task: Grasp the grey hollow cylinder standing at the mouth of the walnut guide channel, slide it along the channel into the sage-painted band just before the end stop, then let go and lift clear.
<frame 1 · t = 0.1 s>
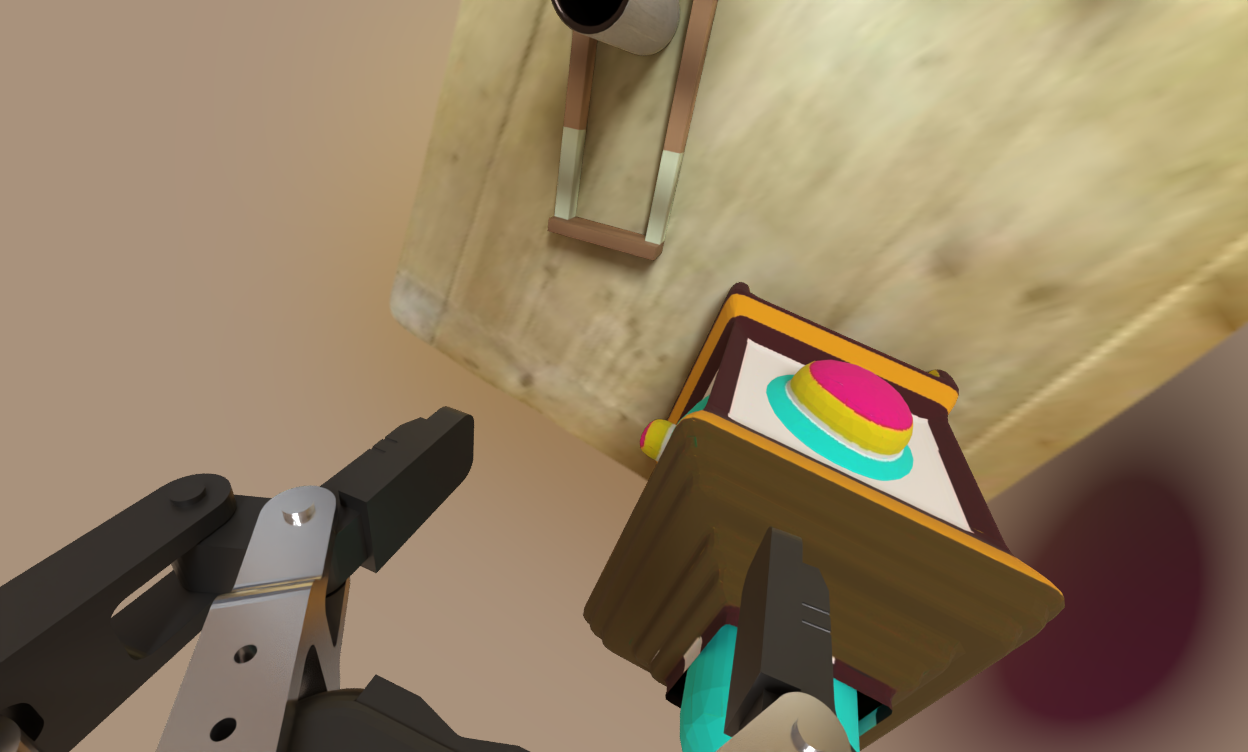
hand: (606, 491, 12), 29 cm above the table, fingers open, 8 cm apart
decorative lantern: (786, 405, 42), on the table
guide channel: (630, 116, 35), on the table
grey hollow cylinder: (647, 15, 32), on the table
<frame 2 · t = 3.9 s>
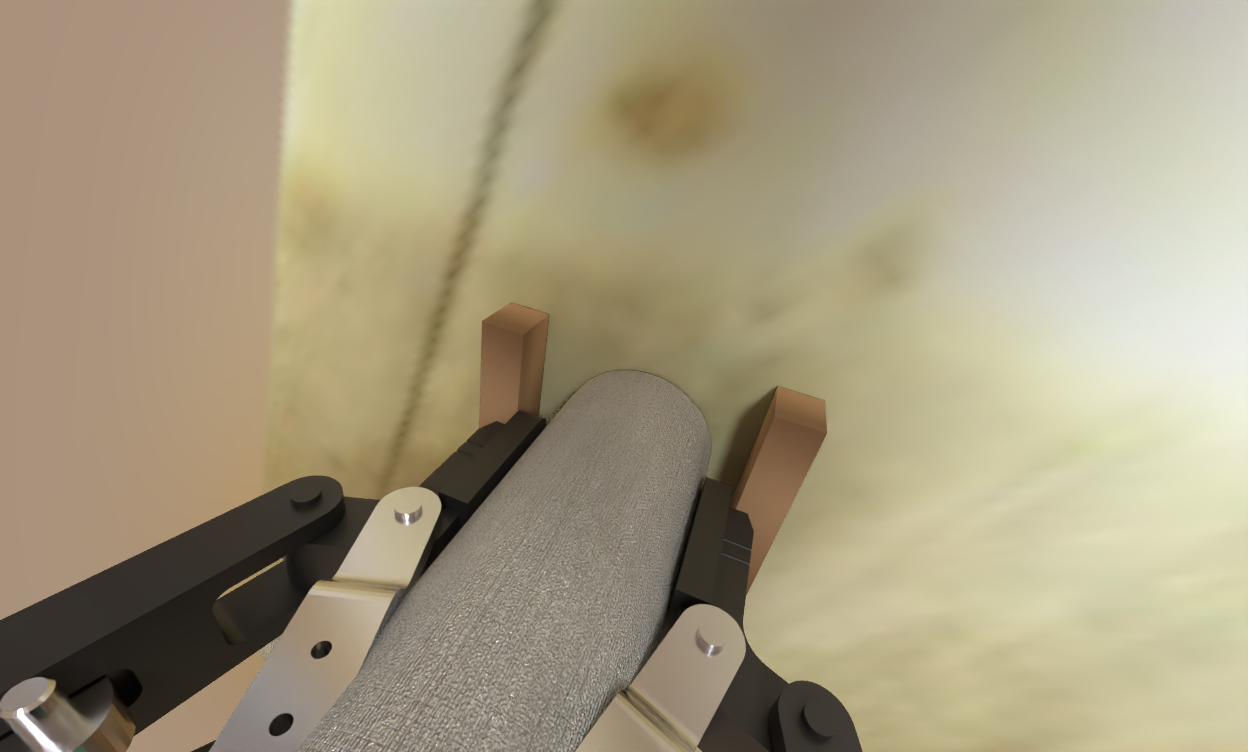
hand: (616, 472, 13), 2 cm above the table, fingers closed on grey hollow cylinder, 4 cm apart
guide channel: (606, 562, 18), on the table
grey hollow cylinder: (639, 431, 15), on the table, touching gripper
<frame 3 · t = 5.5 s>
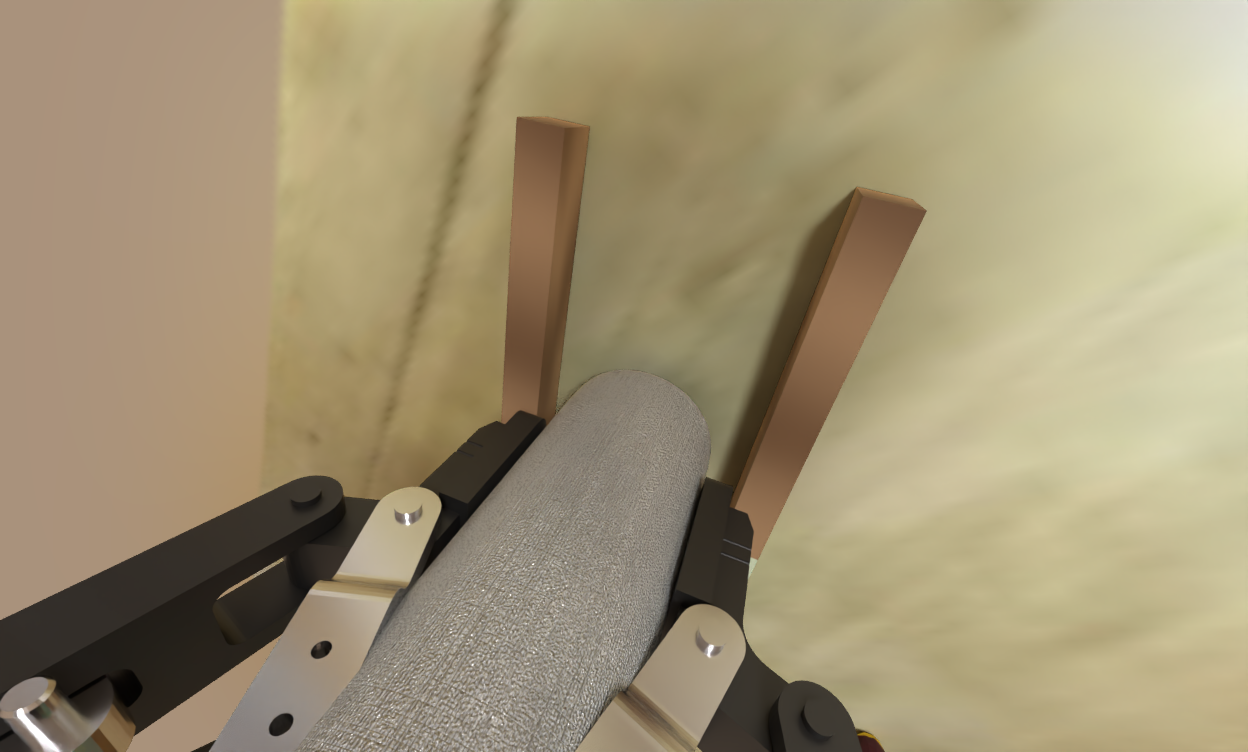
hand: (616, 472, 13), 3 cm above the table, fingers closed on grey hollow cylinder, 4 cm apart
guide channel: (643, 446, 16), on the table
grey hollow cylinder: (639, 431, 15), point 1 cm above the table, touching gripper
when the fingers open (2 cm above the table, at t = 7.6 s): grey hollow cylinder stays where it is, on the table.
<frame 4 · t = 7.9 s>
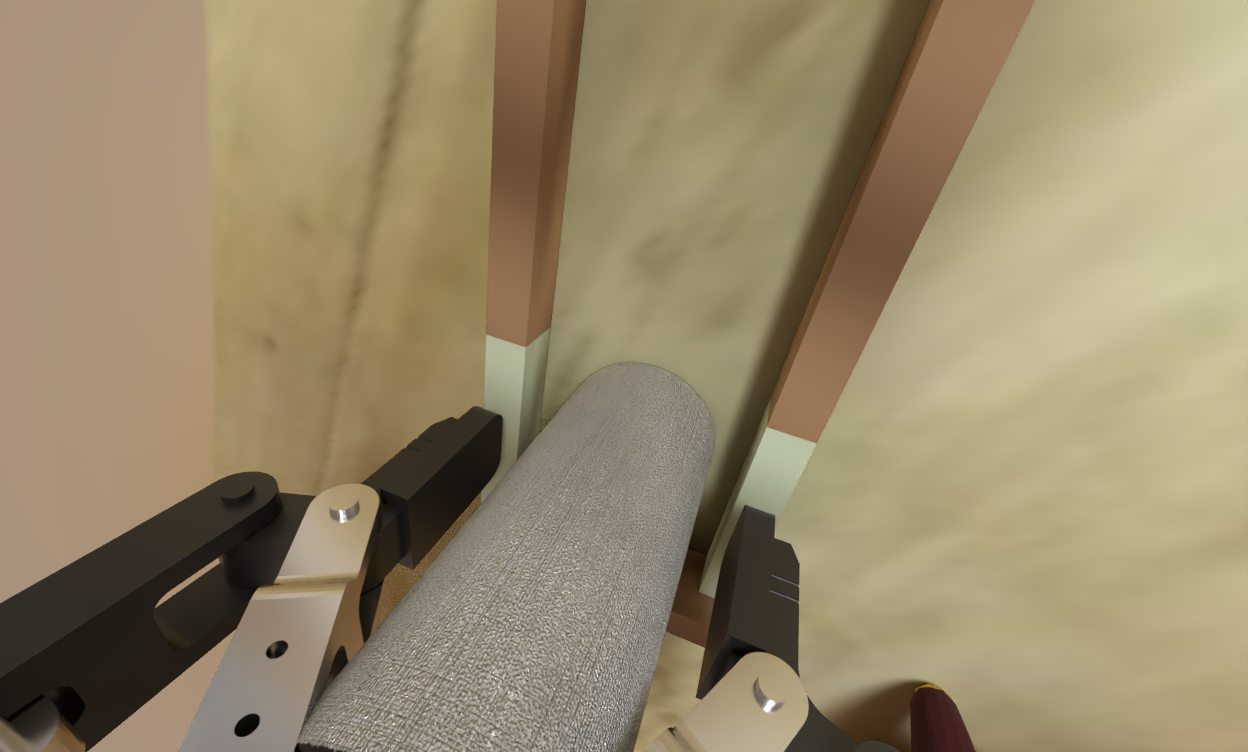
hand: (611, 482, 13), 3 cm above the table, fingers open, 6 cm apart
guide channel: (667, 312, 13), on the table
grey hollow cylinder: (643, 423, 15), on the table
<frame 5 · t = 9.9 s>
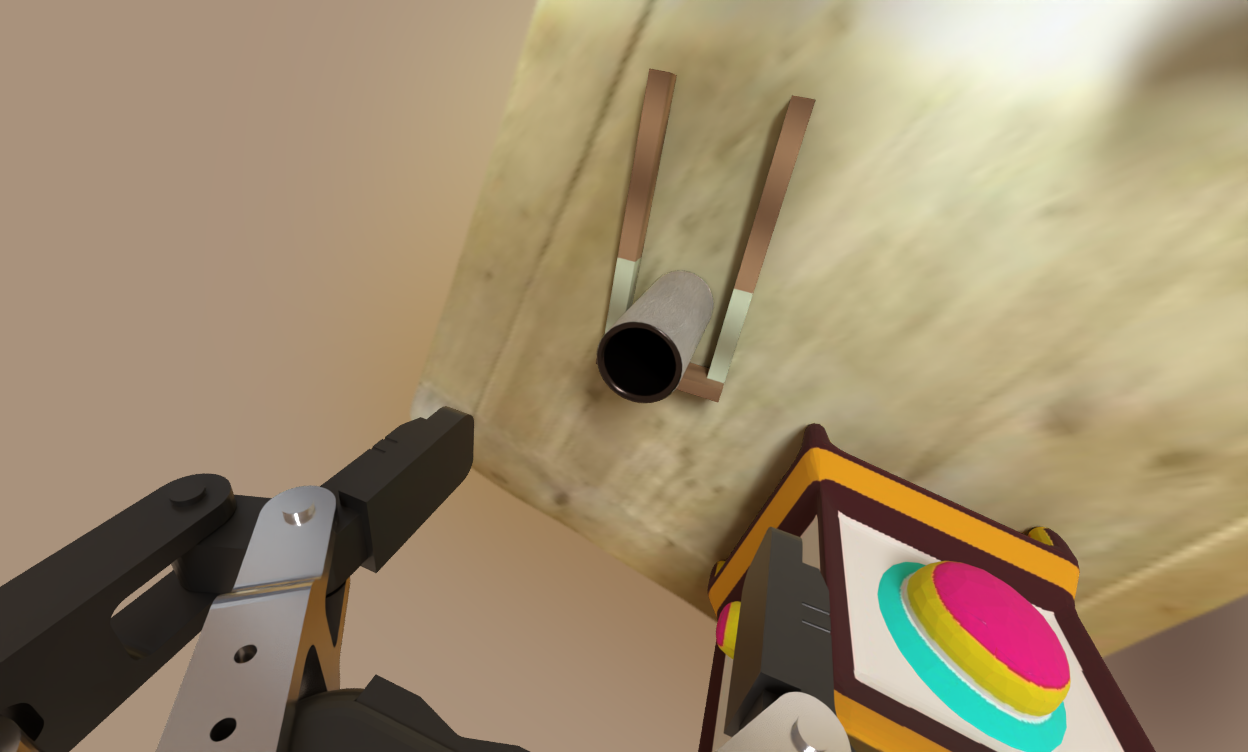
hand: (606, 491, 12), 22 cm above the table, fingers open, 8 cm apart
decorative lantern: (859, 546, 37), on the table
guide channel: (693, 246, 31), on the table
grey hollow cylinder: (681, 301, 33), on the table
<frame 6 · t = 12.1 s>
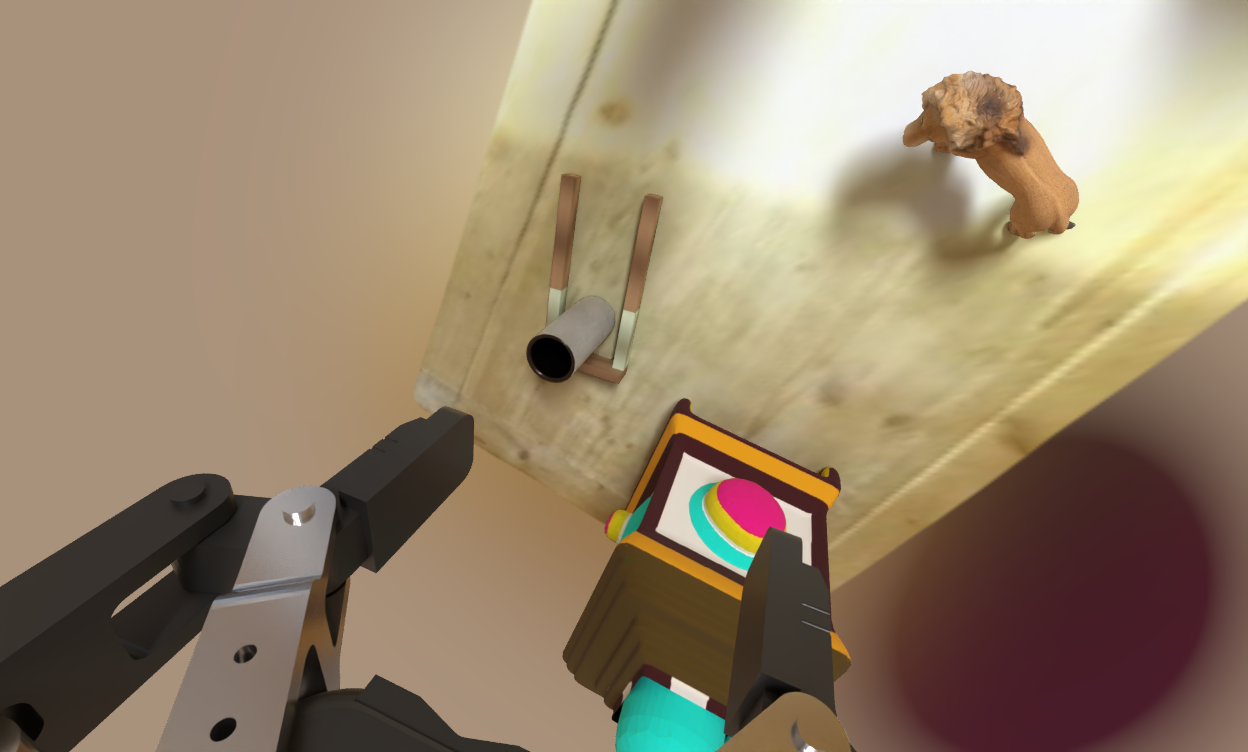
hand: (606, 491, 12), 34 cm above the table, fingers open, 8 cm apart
lion figurine: (978, 159, 34), on the table
decorative lantern: (724, 484, 54), on the table
guide channel: (599, 281, 47), on the table
grey hollow cylinder: (595, 316, 50), on the table
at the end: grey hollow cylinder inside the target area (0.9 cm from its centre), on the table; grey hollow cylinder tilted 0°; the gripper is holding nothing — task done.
